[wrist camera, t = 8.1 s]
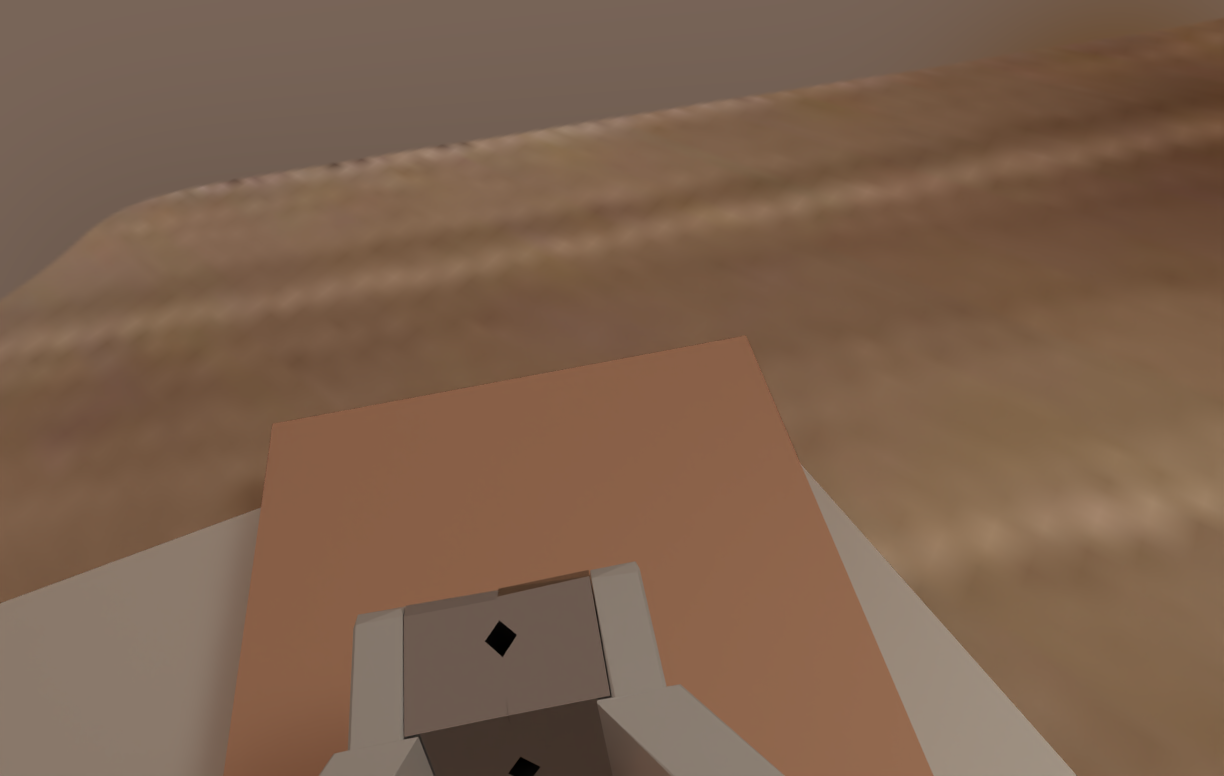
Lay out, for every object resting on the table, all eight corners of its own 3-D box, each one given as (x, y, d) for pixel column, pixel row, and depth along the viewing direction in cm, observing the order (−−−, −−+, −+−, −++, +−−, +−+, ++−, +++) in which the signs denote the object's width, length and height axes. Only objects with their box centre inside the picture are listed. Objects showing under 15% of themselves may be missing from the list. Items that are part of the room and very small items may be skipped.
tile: (227, 1306, 13) (305, 501, 24) (1028, 1128, 14) (750, 417, 25) (155, 1254, 12) (272, 423, 23) (1054, 1057, 12) (746, 335, 23)
